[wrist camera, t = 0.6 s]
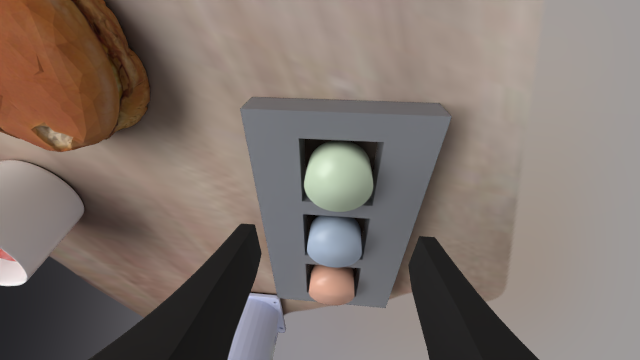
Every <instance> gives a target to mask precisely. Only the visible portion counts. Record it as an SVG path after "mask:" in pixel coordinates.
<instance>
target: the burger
mask: <svg viewBox="0 0 640 360" xmlns="http://www.w3.org/2000/svg"><path fill="white" fill-rule="evenodd" d="M149 101H150V88H149V82H148V78H147V74H146V71H145V68H144V67H143V65H142V62H141V61H140V59H139V58H138V56H137V55H136V54H135V53H134V51H132V50H131V49H129V48H128V43H127V41H126V36H124V34H123V31H122V29H121V27H120V25H119V23H118V20H117V18H116V17H115V15H114V14H113V12H112V11H111V10H110V9H109V8H108V7H107V6H106V4H105V1H104V0H0V132H2V133H5V134H8V135H10V136H13V137H16V138H19V139H23V140H25V141H27V142H30V143H32V144H34V145H36V146H39V147H41V148H44V149H46V150H50V151H57V152H64V151H70V150H75V149H78V148H81V147H85V146H89V145H93V144H96V143H99V142H100V141H102V140H104V139H108V138H110V137H111V136H112V135H113V134H114V133H115V132H116V131H118V130H120V129H124V128H128V127H131V126H133V125H135V124H136V123H137V122H138V121H140V119H141V117H142V116H143V115H144V114H145V112H146V111H147V109H148V108H147V106H146V105H147V104H148V102H149Z"/></svg>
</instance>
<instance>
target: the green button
mask: <svg viewBox="0 0 640 360" xmlns="http://www.w3.org/2000/svg"><path fill="white" fill-rule="evenodd" d="M304 188H305V192H306V194H307V196H308V197H309V199H310V200H311V201H312V202H313V203H314V204H316V205H317V206H319V207H320V208H323V209H325V210H328V211H333V212H346V211H350V210H354V209H356V208H358V207H360V206H362V205H363V204H364V203H365V202H366V201H367V200H368V199H369V198H370V196H371V194H372V191H373V178H372V172H371V165H370V160H369V157H368V155H367V154H366V152H365V151H364V150H363V149H362V148H361V147H360V146H358V145H356V144H354V143H352V142H349V141H344V140H334V141H329V142H326V143H324V144H322V145H320V146H319V147H318V148H316V149H315V150H314V152H313V153H312V155H311V156H310V159H309V163H308V167H307V171H306V175H305V180H304Z"/></svg>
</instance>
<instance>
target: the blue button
mask: <svg viewBox="0 0 640 360" xmlns="http://www.w3.org/2000/svg"><path fill="white" fill-rule="evenodd" d="M307 252H308V255H309V256H310V257H311V259H312V260H314V261H315V262H317V263H319V264H321V265H323V266H327V267H334V268H340V267H346V266H350V265H352V264H354V263H355V262H357V261H358V260H359V259H360V257H361V254H362V246H361V230H360V226H359V224H358V222H357V221H356V220H355V219H354V218H352V217H338V216H324V215H320V216H318V217H317V218H315V219H314V220H313V222H312V223H311V226H310V232H309V239H308V245H307Z"/></svg>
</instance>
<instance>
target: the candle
mask: <svg viewBox="0 0 640 360" xmlns="http://www.w3.org/2000/svg"><path fill="white" fill-rule="evenodd" d="M83 213H84V205H83V202H82V200H81V199H80V197H79V196H78V194H77V193H76V192H75V191H74V190H73V189H72V188H71V187H70V186H69V185H68V184H67V183H66V182H64V181H63V180H62V179H60V178H59V177H57V176H56V175H54V174H52V173H51V172H49V171H47V170H45V169H43V168H41V167H39V166H36V165H33V164H31V163H27V162H23V161H18V160H4V161H0V285H2V286H16V285H21V284H23V283H25V282H26V281H27V280H28V279H29V278H30V277H31V275H32V274H33V273H34V272H35V271H36V270H37V269H38V267H39V266H40V265H41V264H42V263H43V262H44V260H45V259H46V258H47V257H48V256H49V255H50V254H51V252H52V251H53V250H54V249H55V248H56V247H57V246H58V244H59V243H60V242H61V241H62V240H63V239H64V237H65V236H66V235H67V234H68V233H69V232H70V230H71V229H72V228H73V227H74V226H75V225H76V223H77V222H78V221H79V220H80V218H81V217H82V215H83Z"/></svg>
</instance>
